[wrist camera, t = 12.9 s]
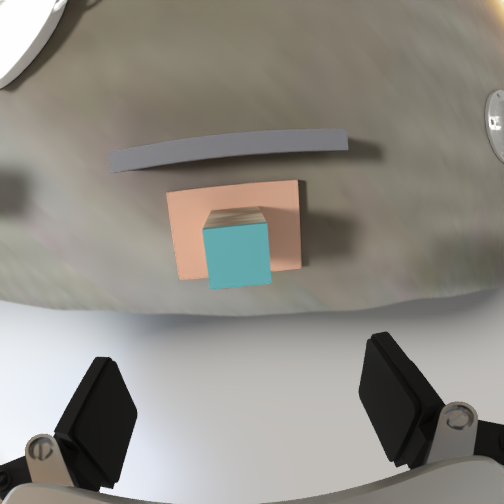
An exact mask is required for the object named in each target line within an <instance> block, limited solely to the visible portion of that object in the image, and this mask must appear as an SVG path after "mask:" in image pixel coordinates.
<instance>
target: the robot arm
mask: <svg viewBox="0 0 504 504" xmlns="http://www.w3.org/2000/svg"><path fill="white" fill-rule="evenodd" d="M485 122H486V129H487V134H488V137H489V141H490V143H491V146H492V148H493V150H494V152H495V154H496V155H497V157H498V158H499V159H500V160H501V162H503V163H504V90H496V91H493V92H492V93H491V94H490V95H489V97H488V99H487V102H486V108H485ZM359 397H360V400H361V402H362V404H363V406H364V408H365V410H366V412H367V414H368V416H369V419H370V421H371V423H372V425H373V427H374V429H375V431H376V433H377V435H378V438H379V440H380V442H381V444H382V447H383V449H384V451H385V453H386V455H387V458H388V459H389V461H390V462H393V461H394V463H395V466H396V467H399V466H402V465H404V464H407V465H408V467H409V468H410V470H409V471H406V472H403V473H400V474H397V475H395V476H392V477H389V478H385V479H383V480H379V481H376V482H372V483H369V484H365V485H362V486H358V487H354V488H350V489H346V490H343V491H338V492H334V493H329V494H325V495H319V496H314V497H308V498H303V499H296V500H289V501H282V502H272V503H262V504H504V425H502V424H496V423H491V422H487V421H482V420H478V415H477V412H476V410H475V409H474V408H473V407H472V406H471V405H469V404H467V403H464V402H452V403H449V404H447V405H445V404H444V402H443V401H442V399H441V398H440V397H439V396H438V394H437V393H436V391H435V390H434V389H433V387H432V386H431V385H430V384H429V382H428V381H427V379H426V378H425V377H424V376H423V374H422V373H421V372H420V371H419V369H418V368H417V366H416V365H415V364H414V363H413V362H412V361H411V360H410V359H409V358H408V357H407V356H406V354H405V353H404V352H403V350H402V349H401V348H400V347H399V345H398V344H397V343H396V341H394V339H393V338H392V336H391V335H390V334H389V333H388V332H381V333H376V334H373V335H372V336H371V339H368V340H367V344H366V351H365V357H364V364H363V370H362V375H361V381H360V386H359ZM136 419H137V409H136V407H135V405H134V402H133V400H132V398H131V396H130V394H129V391H128V389H127V387H126V385H125V382H124V380H123V378H122V375H121V373H120V371H119V368H118V366H117V363H116V362H115V361H112V359H111V358H110V357H96V358H95V359H94V360H93V362H92V364H91V366H90V367H89V369H88V370H87V372H86V374H85V376H84V377H83V379H82V381H81V382H80V384H79V386H78V388H77V389H76V391H75V393H74V395H73V397H72V398H71V400H70V402H69V404H68V406H67V407H66V409H65V411H64V413H63V415H62V417H61V419H60V421H59V423H58V424H57V426H56V428H55V430H54V432H55V434H54V436H53V437H52V436H50V435H48V434H39V435H36V436H34V437H32V438H31V439H30V440H29V441H28V443H27V445H26V447H25V456H23V457H20V458H18V459H16V460H13V461H11V462H8V463H6V464H3V465H0V504H170V503H160V502H151V501H144V500H137V499H130V498H124V497H118V496H113V495H108V494H103V493H100V492H99V490H100V487H106V488H111V489H113V487H114V484H115V483H117V482H118V481H119V478H120V474H121V471H122V467H123V463H124V460H125V456H126V453H127V449H128V446H129V442H130V439H131V435H132V432H133V429H134V425H135V422H136Z"/></svg>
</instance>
